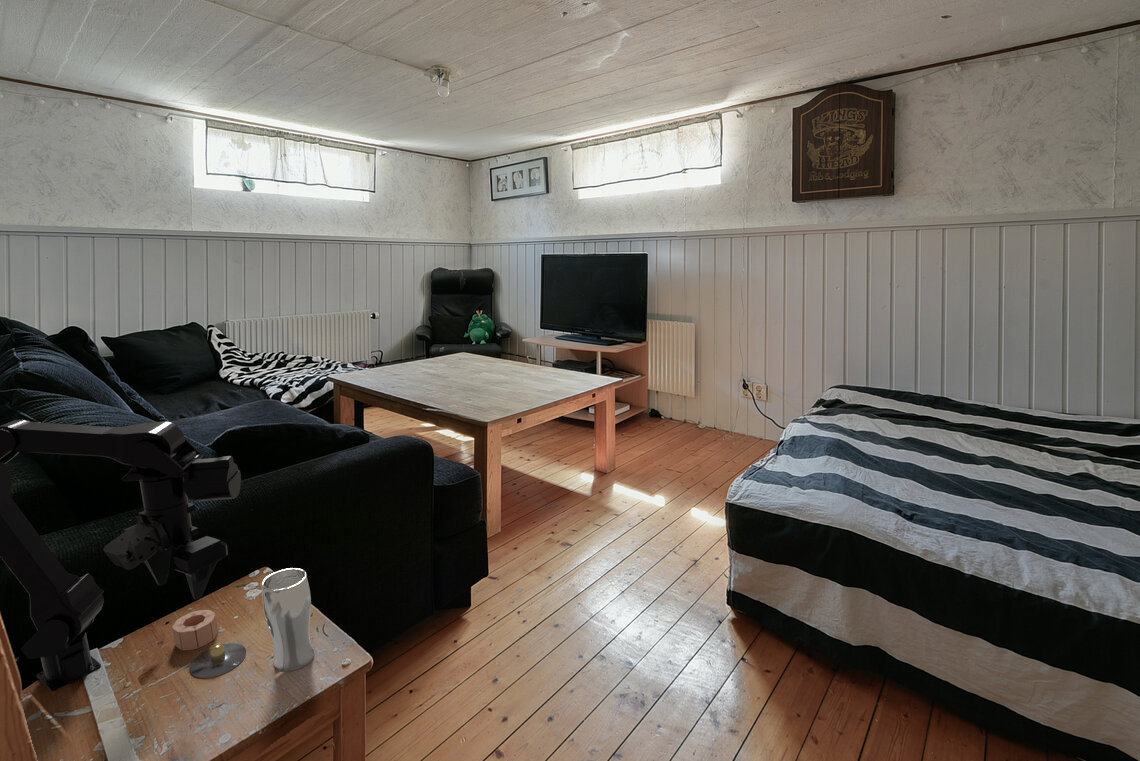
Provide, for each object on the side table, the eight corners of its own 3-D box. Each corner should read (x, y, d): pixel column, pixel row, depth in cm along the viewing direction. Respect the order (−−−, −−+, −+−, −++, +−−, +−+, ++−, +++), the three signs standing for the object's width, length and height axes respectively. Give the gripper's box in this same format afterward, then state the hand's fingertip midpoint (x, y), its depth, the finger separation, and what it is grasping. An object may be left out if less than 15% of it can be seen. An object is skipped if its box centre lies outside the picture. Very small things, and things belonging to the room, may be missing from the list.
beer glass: (299, 677, 91) (289, 593, 88) (261, 671, 93) (249, 588, 90) (325, 648, 98) (317, 569, 95) (289, 643, 99) (280, 565, 96)
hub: (180, 668, 94) (177, 652, 93) (230, 640, 100) (228, 625, 100) (206, 686, 89) (203, 670, 89) (256, 656, 96) (254, 641, 95)
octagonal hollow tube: (169, 642, 99) (166, 624, 98) (206, 623, 104) (203, 606, 103) (187, 654, 96) (184, 636, 95) (223, 634, 101) (221, 617, 100)
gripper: (72, 511, 87) (90, 603, 90) (147, 537, 79) (163, 636, 83) (151, 485, 97) (164, 569, 100) (223, 506, 89) (235, 595, 93)
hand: (179, 591), depth 94 cm, fingers open, 9 cm apart
